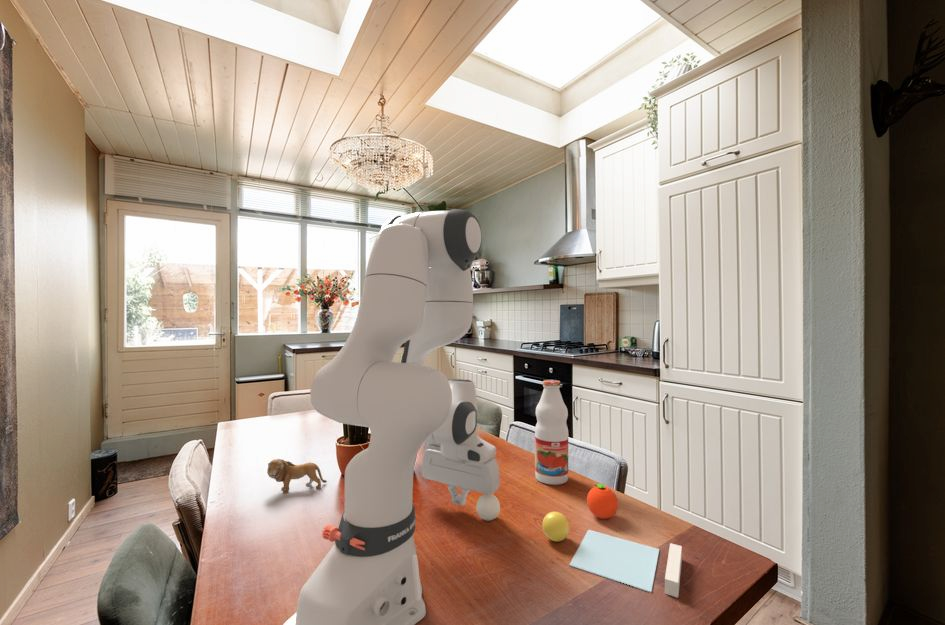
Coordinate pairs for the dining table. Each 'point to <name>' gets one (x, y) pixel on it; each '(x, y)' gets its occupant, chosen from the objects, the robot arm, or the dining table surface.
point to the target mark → (617, 559)
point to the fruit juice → (551, 436)
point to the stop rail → (673, 570)
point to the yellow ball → (555, 526)
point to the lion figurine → (293, 473)
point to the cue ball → (488, 507)
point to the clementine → (602, 501)
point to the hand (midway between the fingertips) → (458, 503)
